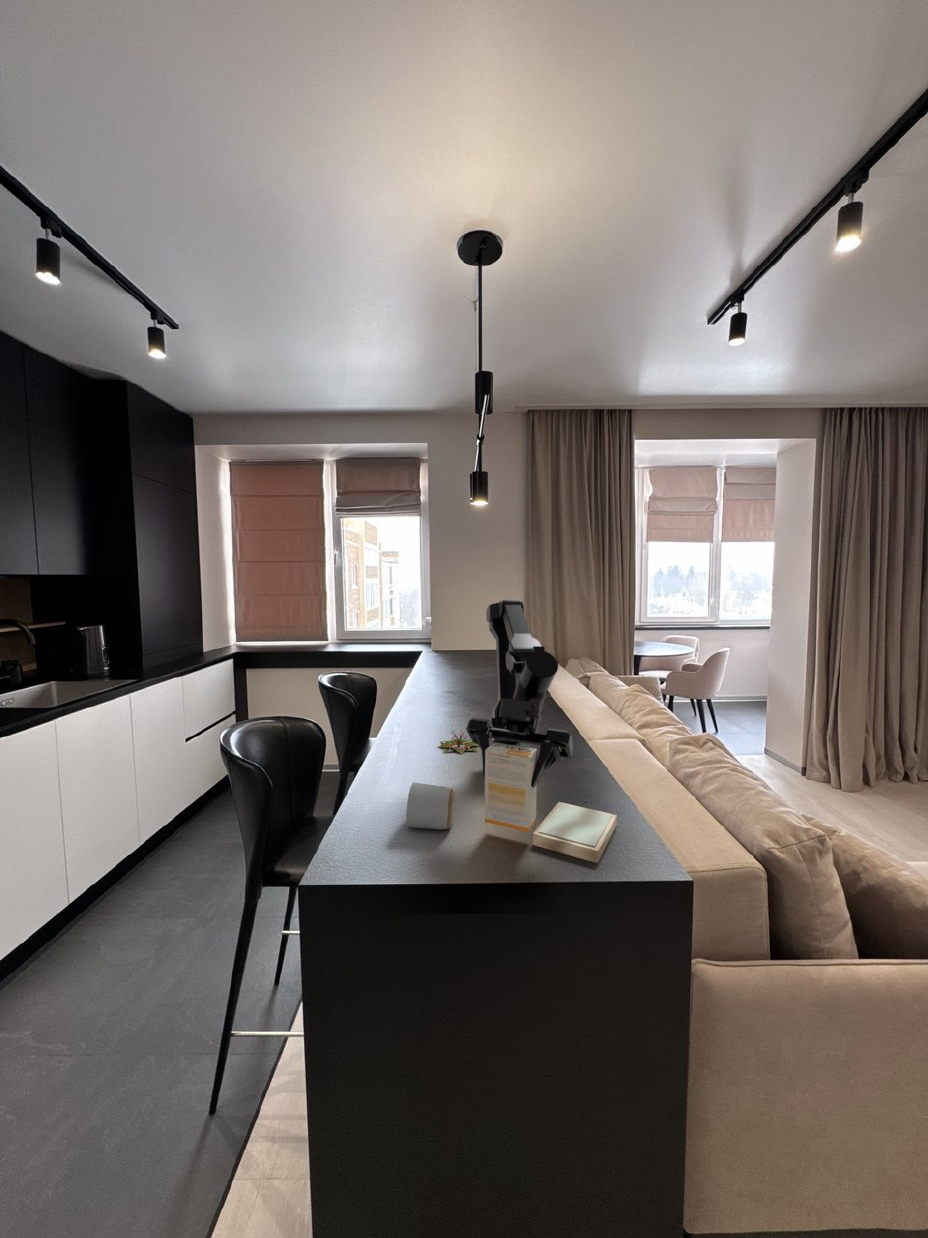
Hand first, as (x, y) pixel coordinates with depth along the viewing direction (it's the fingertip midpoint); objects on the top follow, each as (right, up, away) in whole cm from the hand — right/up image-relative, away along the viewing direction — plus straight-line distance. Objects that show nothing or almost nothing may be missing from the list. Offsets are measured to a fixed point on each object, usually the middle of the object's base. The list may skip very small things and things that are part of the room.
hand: (508, 782), depth 87 cm
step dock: (+12, -10, +3) cm, 16 cm away
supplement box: (0, -8, +2) cm, 8 cm away
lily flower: (-9, -7, +48) cm, 49 cm away
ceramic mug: (-14, -10, +7) cm, 18 cm away
